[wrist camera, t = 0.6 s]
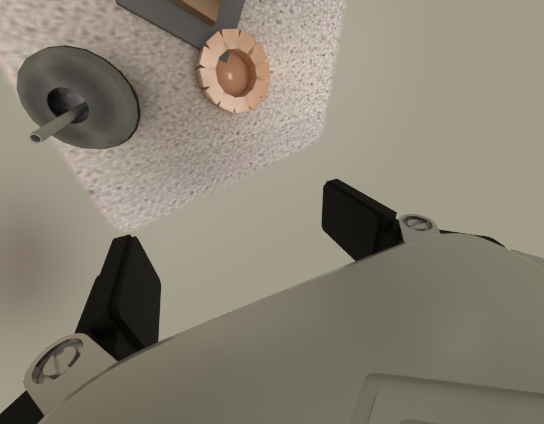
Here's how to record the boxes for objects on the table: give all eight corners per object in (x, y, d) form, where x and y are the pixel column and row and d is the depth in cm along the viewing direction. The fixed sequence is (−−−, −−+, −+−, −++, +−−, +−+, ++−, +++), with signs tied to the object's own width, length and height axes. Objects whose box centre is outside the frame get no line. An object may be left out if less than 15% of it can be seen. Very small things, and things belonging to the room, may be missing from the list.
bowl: (207, 19, 26) (212, 10, 23) (268, 57, 31) (279, 54, 27) (189, 93, 29) (191, 94, 26) (247, 119, 33) (255, 122, 30)
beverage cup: (152, 75, 27) (125, 58, 11) (148, 134, 30) (121, 193, 13) (76, 48, 23) (-131, -32, 7) (79, 118, 26) (-68, 171, 10)
